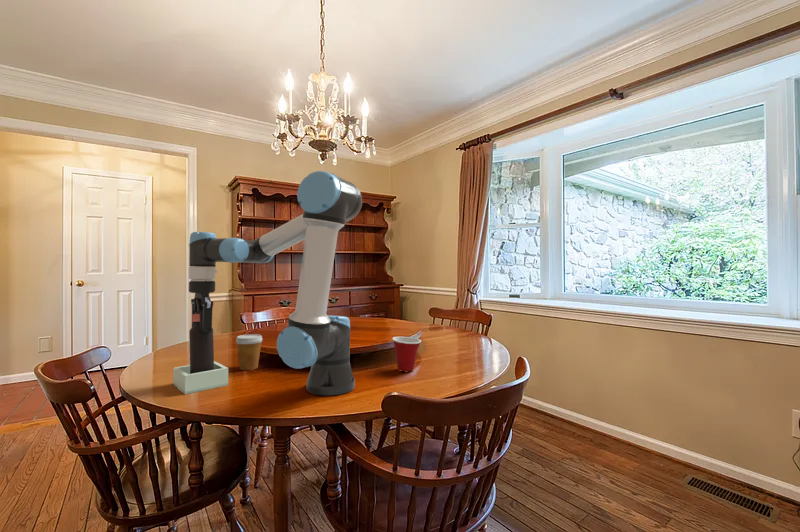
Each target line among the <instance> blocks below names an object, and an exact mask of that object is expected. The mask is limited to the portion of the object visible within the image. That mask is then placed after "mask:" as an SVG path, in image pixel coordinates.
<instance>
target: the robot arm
mask: <svg viewBox="0 0 800 532" xmlns="http://www.w3.org/2000/svg"><path fill="white" fill-rule="evenodd" d="M296 193H297V195H296V196H297V202H298V203H299V206H300V207H301V209H302V210H303V213H302V214H301V215H299V216H296V217H295V218H293V219H291V220H289V221H288V222H286V223H283V224H282V225H280V226H278V227H276V228H275V229H273V230H271V231H269V232H267V233H265V234H263V235H261V236H259V237H257V238H255V239H254V240H247V239H243V238H238V237H226V238H220V237H219V238H217V235H216V233H214V232H208V231H194V232H193V231H192V232H191V233H190V236H189V244H188V247H189V251H188V252H189V254H188V255H189V257H188V259H189V260H188V261H189V263H188V265H189V266H188V279H189V280H190V281H188V293H190V294H194V298H191V300H190V302H191V303H190V304H191V316H192V315H193V314H199V315H200V330H201V331H200V333H198V335H200V334H203V344H208V334H209V332H212V328H213V327H212V326H213V310H214V309H213V308H214V301H211V298H210V293H211V294H212V293H215V292H216V281H215V279H216V273H217V272H218V270H217V269H216V263H230V264H231V263H235V264H236V263H243V264H244V263H247V264H248V263H250V264H266V263H269V262H271V261H272V260H273V258H274V257H275V255H277V254H279V253H281V252H283V251H285V250H287V249H289V248H290V247H291V248H292V247H294V246H295V245H296V244H298V243H300V242H303V241H304V244H303V245H304V246H303V254H302V260H301V267H300V276H299V284H298V289H297V297H296V304H295V310H294V311H292V312H291V313H290V314H289V316H288V321H287V327H285V328H284V329H282V331H280V332H279V334H278V336H277V339H276V350H277V353H278V355H279V358H281V360H282V361H283V363H284V364H286V365H287V366H288V367H290V368H293V369H298V370H299V369H304V368H308V367H310V371H309V373H308V376H307V377H308V378H307V380H306V384H305V385H306V388H305V389H306V391H307V392H308V393H310V394H313V395H318V396H337V395H343V394H346V393H349V392H351V391H354V389H355V387H356V379H355V377H354V373H353V369H352V366H351V363H350V360H351V359H350V353H351V352H350V351H351V350H350V349H351V321H350V318H349V317H347V316H342V315H330V314H327V311H328V304H329V298H330V292H331V289H330V288H331V285H332V284H331V283H332V276H333V269H334V261H335V256H336V247H337V240H338V235H339V231H340V230H341V229H343V228H344V227H345V223H348V222H350V221H351V220H352V219H354V218H356V216H358V214H359V213H360V211H361V209H362V206H363V197H362V193H361V192H360V189H359V188H358V187H357V186H356V185H355V184H354V183H352V182H350V181H347V180H346V179H343V178H342V177H339V176H337V174H334V173H332V172H328V171H324V170H317V171H312V172H311V173H309V174H308V175H306V176H305V177H304V178H303V179H302V180H301V182H300V183H299V185H298V189H297V192H296ZM193 326H194V323H193V319H192V318H191V328H192V327H193ZM205 341H206V342H205Z"/></svg>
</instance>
